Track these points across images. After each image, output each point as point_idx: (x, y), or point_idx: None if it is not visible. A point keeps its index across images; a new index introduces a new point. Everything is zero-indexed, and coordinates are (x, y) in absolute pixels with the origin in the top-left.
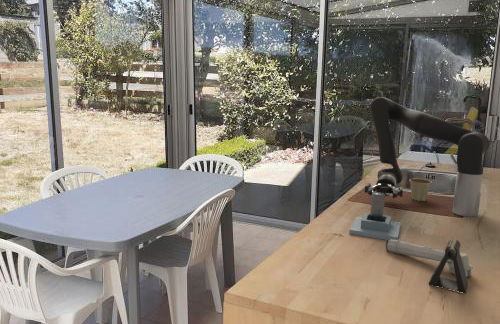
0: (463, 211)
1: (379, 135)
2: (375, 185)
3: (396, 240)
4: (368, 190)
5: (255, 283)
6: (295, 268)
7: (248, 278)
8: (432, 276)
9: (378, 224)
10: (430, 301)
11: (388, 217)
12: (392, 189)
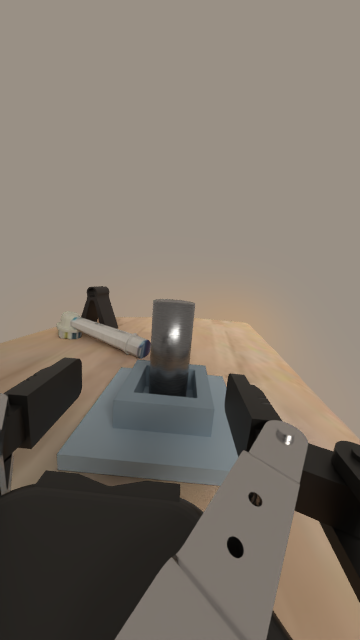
0: None
1: None
2: (257, 463)
3: (135, 337)
4: (257, 388)
5: (242, 325)
6: (231, 333)
7: (250, 327)
8: (114, 321)
9: None
10: (125, 321)
11: (128, 388)
12: (3, 434)
